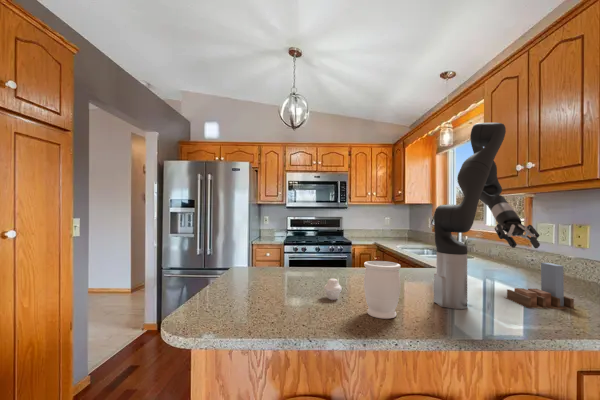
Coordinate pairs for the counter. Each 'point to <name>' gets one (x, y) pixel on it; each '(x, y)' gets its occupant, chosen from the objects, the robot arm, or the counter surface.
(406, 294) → the counter surface
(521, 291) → the offcut
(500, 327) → the counter surface
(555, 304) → the rack
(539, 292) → the offcut
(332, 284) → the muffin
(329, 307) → the counter surface
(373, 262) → the jar
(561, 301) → the tall board
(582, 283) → the counter surface
